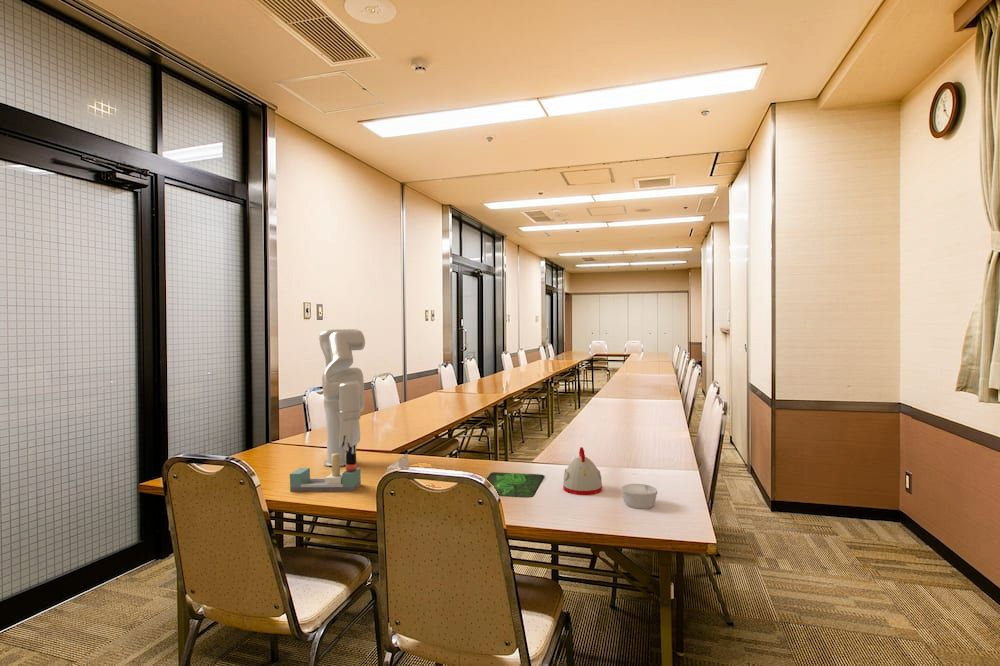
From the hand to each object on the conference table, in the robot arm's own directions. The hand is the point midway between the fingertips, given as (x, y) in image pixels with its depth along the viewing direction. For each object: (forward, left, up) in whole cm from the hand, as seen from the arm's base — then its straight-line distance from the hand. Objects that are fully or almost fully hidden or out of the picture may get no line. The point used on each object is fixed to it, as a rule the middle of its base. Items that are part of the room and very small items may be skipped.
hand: (351, 463), depth 191 cm
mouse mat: (-4, +60, -10) cm, 60 cm away
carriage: (0, -6, -7) cm, 10 cm away
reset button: (0, 0, -2) cm, 2 cm away
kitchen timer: (+2, +86, -9) cm, 86 cm away
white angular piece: (+11, +21, -9) cm, 25 cm away
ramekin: (+18, +103, -9) cm, 105 cm away
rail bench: (0, -10, -9) cm, 14 cm away
